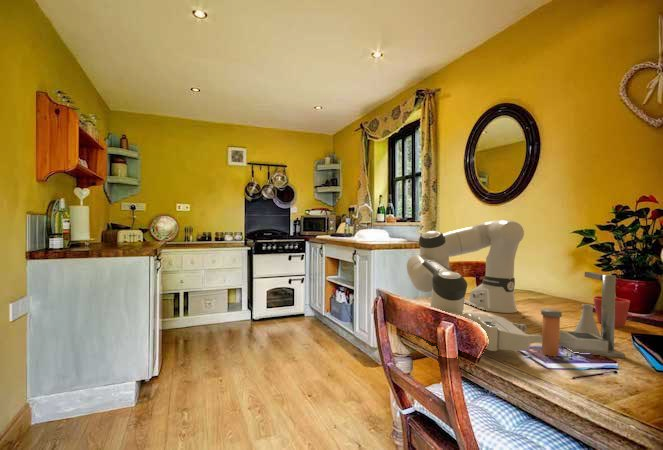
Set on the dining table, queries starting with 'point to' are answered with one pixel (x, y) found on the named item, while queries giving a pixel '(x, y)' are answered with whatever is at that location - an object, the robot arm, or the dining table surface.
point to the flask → (587, 321)
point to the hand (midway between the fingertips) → (533, 333)
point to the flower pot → (620, 310)
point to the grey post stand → (605, 344)
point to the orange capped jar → (550, 331)
